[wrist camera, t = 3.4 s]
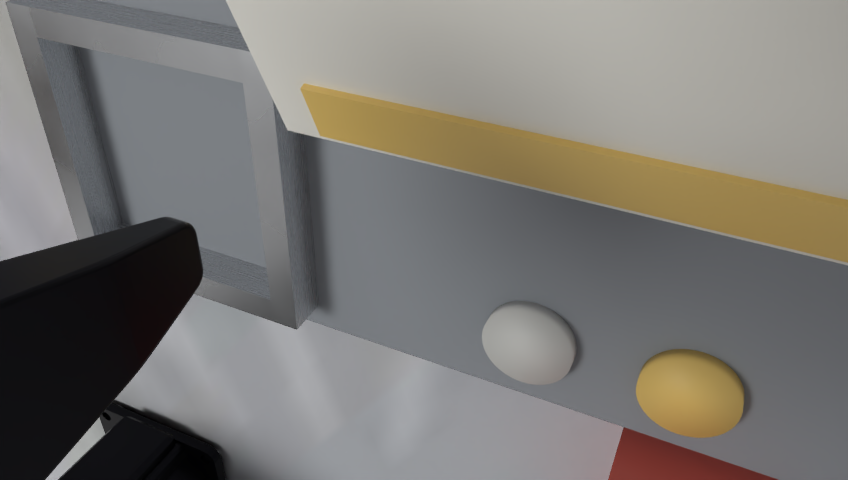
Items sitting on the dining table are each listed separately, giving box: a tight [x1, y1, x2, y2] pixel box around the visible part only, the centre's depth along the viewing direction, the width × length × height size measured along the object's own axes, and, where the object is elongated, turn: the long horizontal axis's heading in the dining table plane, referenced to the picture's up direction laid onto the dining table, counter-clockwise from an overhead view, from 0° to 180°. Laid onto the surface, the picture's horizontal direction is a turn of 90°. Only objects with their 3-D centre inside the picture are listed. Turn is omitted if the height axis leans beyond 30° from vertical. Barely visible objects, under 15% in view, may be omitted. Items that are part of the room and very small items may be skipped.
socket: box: [6, 0, 319, 329], centre depth 20 cm, size 8×8×1 cm
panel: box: [10, 0, 848, 480], centre depth 16 cm, size 17×24×3 cm
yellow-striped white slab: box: [226, 0, 848, 265], centre depth 11 cm, size 8×13×1 cm, turn 88°
